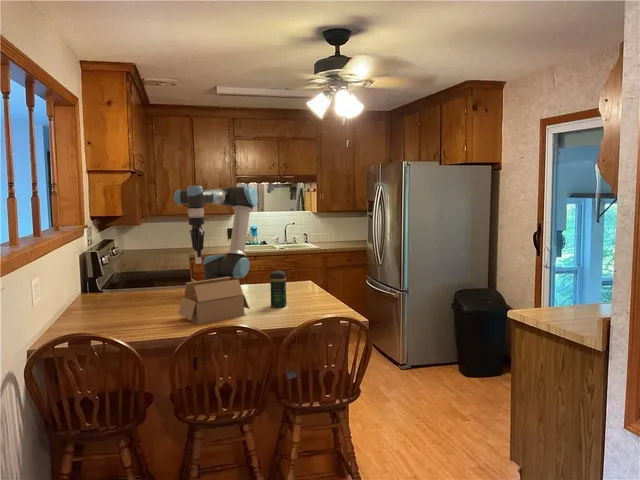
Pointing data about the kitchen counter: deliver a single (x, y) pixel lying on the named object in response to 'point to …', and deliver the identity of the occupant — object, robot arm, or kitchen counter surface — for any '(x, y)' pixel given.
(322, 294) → the kitchen counter surface
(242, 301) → the carton
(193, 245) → the robot arm
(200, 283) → the flap
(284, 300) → the coffee jar
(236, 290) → the flap
